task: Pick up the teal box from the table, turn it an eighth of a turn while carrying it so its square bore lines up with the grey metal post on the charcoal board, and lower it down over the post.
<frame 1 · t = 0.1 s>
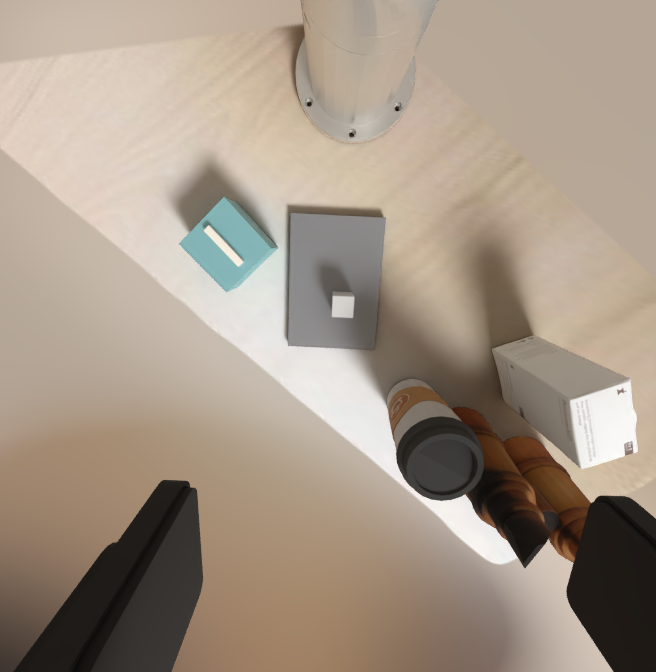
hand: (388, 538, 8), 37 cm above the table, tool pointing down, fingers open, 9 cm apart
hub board: (334, 283, 43), on the table
teal box: (237, 245, 42), on the table
skincare box: (518, 368, 46), on the table
binoculars: (488, 447, 49), on the table
coffee cup: (409, 398, 47), on the table
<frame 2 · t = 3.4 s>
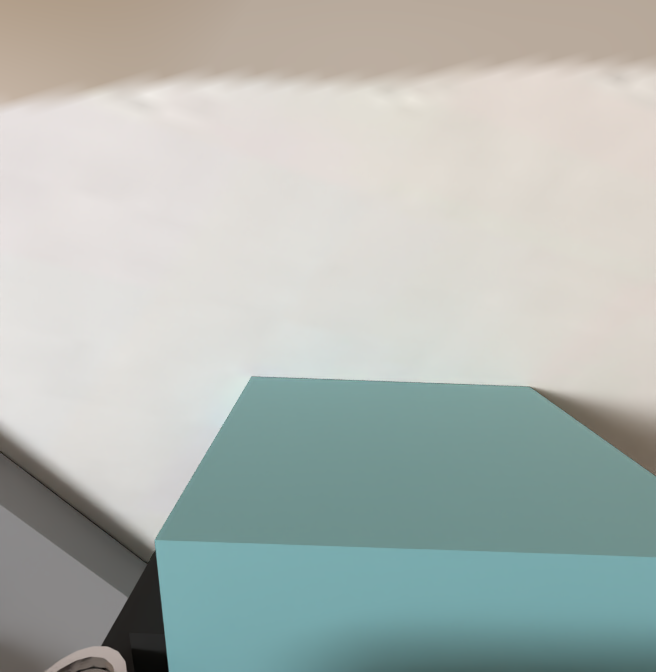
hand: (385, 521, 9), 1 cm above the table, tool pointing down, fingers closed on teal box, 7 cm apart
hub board: (9, 638, 11), on the table
teal box: (380, 499, 10), on the table, touching gripper
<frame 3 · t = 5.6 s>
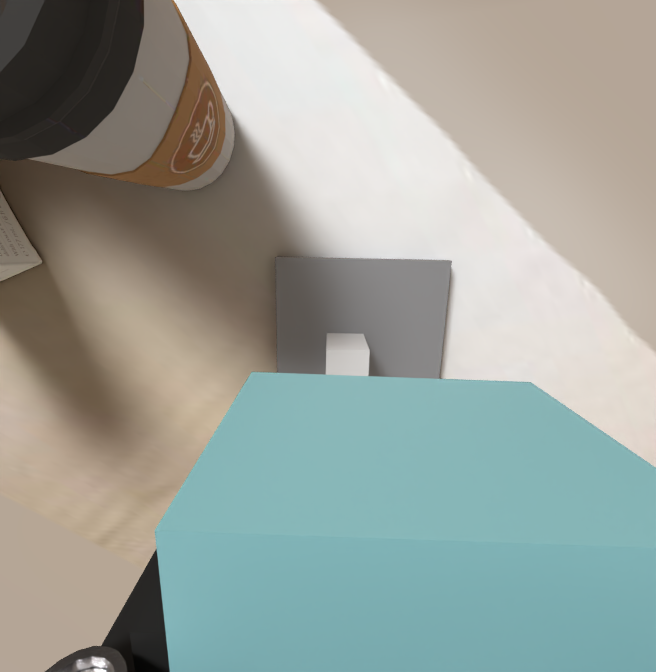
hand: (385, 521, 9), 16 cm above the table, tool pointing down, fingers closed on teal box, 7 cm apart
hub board: (357, 374, 25), on the table
teal box: (380, 495, 10), point 15 cm above the table, touching gripper
coffee cup: (185, 136, 21), on the table
when the fingers open (3 cm above the table, at t = 7.8 s): teal box drops 1 cm, resting on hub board.
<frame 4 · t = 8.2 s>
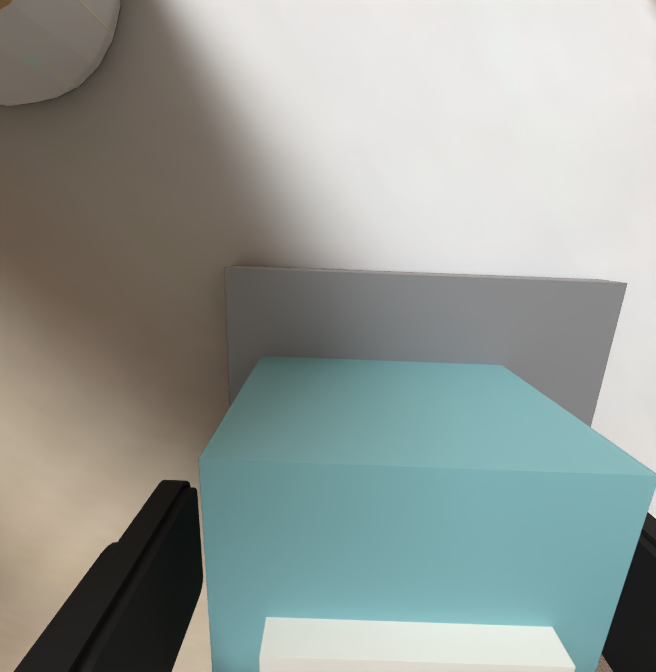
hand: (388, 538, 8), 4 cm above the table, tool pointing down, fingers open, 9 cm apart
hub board: (394, 498, 12), on the table
teal box: (373, 465, 11), point 1 cm above the table, touching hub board
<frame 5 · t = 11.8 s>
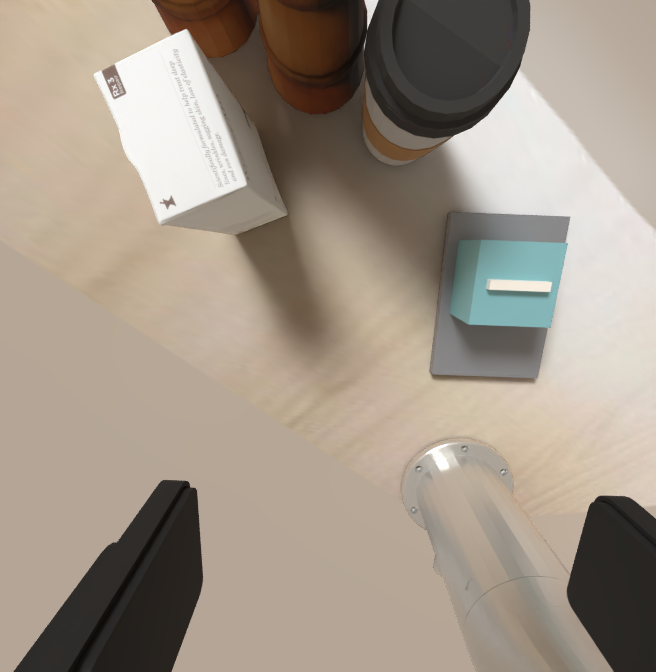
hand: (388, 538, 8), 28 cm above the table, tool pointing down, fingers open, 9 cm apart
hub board: (492, 298, 35), on the table
teal box: (489, 279, 34), point 1 cm above the table, touching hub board
skincare box: (243, 182, 33), on the table
binoculars: (263, 32, 30), on the table
coffee cup: (396, 129, 32), on the table
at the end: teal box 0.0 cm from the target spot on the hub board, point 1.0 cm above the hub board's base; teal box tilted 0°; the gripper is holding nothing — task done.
